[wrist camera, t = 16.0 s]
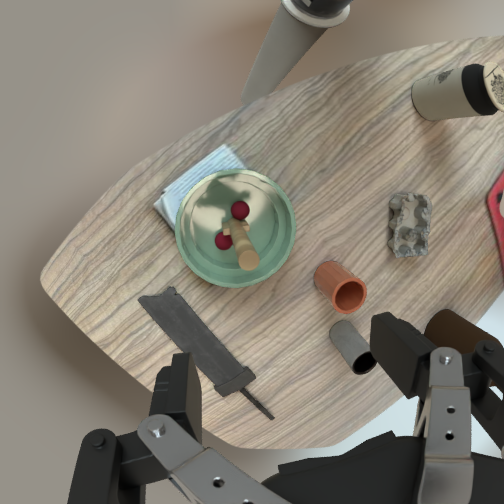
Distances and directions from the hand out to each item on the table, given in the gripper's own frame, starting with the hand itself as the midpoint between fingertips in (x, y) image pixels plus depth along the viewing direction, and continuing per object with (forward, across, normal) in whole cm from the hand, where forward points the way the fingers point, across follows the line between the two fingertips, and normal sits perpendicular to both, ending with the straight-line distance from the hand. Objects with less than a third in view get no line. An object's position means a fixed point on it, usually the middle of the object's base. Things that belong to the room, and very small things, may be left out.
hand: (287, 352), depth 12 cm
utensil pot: (+32, -14, +11) cm, 37 cm away
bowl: (+32, 0, 0) cm, 32 cm away
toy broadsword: (+32, +6, +24) cm, 40 cm away
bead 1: (+30, +2, +2) cm, 30 cm away
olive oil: (+32, -41, +29) cm, 60 cm away
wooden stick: (+32, 0, 0) cm, 32 cm away
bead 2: (+30, -1, -2) cm, 30 cm away
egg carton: (+32, -29, +4) cm, 44 cm away
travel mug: (+32, -37, -18) cm, 52 cm away
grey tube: (+32, -16, +22) cm, 42 cm away
